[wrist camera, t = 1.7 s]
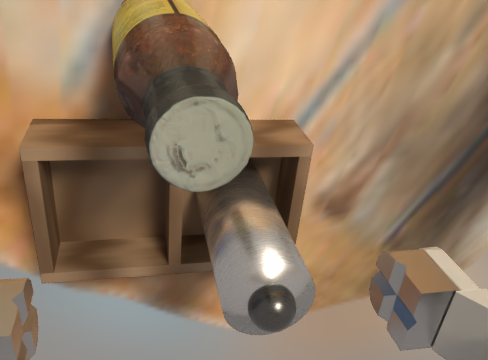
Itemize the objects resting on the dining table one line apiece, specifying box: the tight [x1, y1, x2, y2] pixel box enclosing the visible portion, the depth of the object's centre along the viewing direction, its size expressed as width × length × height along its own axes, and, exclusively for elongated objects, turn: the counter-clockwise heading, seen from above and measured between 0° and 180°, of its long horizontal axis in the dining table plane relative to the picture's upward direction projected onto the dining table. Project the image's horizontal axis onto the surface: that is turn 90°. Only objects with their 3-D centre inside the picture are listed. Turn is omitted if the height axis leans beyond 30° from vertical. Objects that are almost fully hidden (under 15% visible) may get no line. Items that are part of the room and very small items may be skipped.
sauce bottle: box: [112, 0, 254, 192], centre depth 25 cm, size 7×6×20 cm
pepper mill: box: [195, 161, 315, 335], centre depth 33 cm, size 6×6×16 cm
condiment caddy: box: [19, 119, 313, 283], centre depth 38 cm, size 21×12×5 cm, turn 85°
